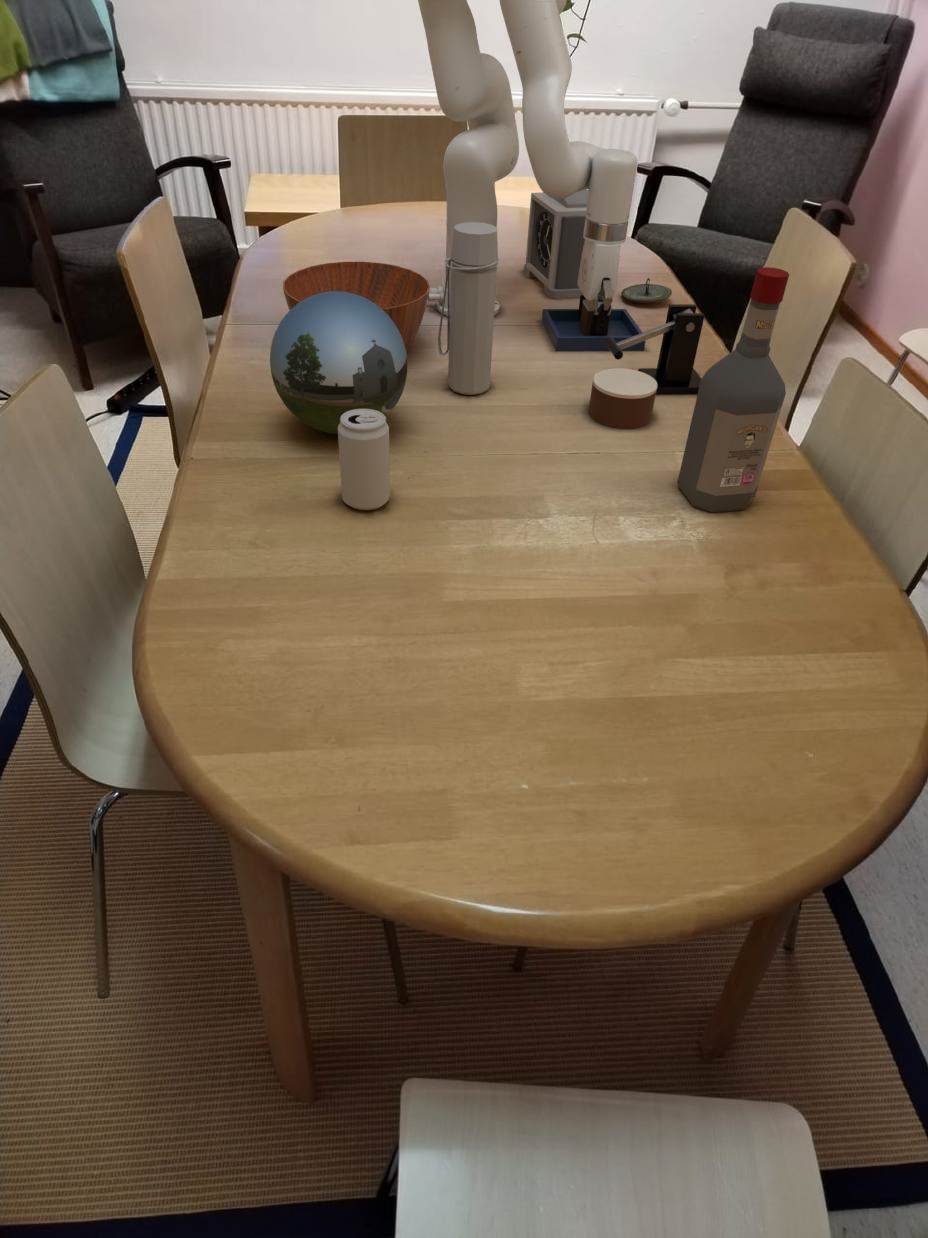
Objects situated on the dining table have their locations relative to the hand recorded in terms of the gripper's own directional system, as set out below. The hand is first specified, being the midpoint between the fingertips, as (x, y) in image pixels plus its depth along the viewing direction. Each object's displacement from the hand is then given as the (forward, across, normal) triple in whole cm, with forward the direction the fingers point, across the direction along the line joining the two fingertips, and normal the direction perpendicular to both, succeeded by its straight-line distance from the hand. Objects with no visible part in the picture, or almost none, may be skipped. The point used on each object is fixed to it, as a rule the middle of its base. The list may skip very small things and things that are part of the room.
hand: (591, 325), depth 160 cm
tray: (+2, 0, 0) cm, 2 cm away
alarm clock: (+2, -30, +1) cm, 30 cm away
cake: (+2, +33, -3) cm, 33 cm away
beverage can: (+2, +57, -44) cm, 72 cm away
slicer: (+2, +22, +9) cm, 24 cm away
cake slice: (+1, 0, 0) cm, 1 cm away
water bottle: (+2, +22, -27) cm, 35 cm away
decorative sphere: (+2, +36, -47) cm, 59 cm away
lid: (+2, -19, +16) cm, 25 cm away
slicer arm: (-6, +22, +4) cm, 23 cm away
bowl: (+2, +6, -44) cm, 44 cm away
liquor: (+2, +58, +4) cm, 58 cm away
